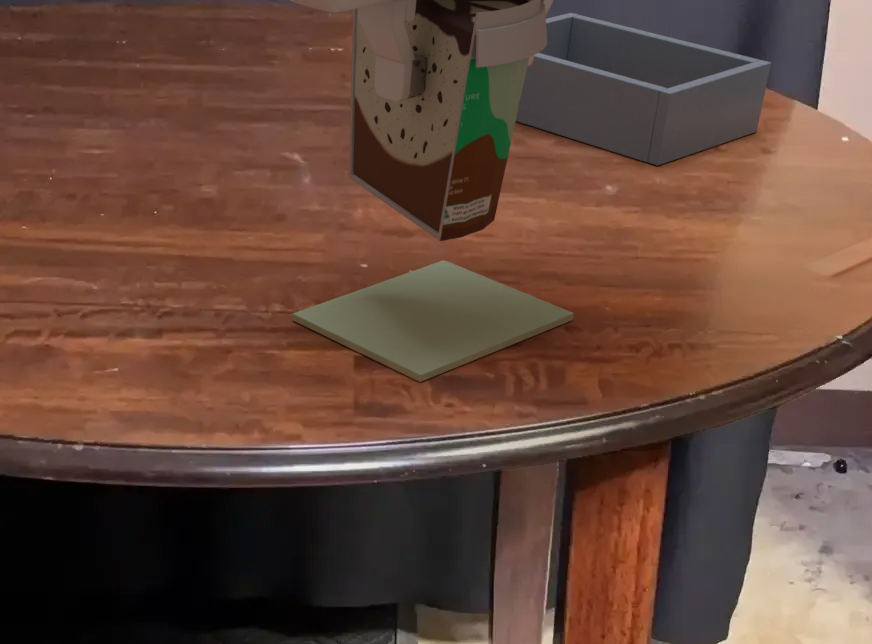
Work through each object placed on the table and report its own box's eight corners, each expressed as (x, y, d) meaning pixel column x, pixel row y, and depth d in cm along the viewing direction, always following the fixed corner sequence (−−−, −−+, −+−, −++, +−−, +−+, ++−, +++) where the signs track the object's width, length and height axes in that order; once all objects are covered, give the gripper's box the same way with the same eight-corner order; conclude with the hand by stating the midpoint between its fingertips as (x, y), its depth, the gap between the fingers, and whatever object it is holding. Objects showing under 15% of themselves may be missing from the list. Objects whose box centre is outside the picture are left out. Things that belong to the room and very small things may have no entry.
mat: (573, 320, 76) (574, 312, 76) (420, 382, 71) (420, 374, 70) (443, 266, 82) (443, 259, 82) (292, 320, 76) (292, 313, 76)
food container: (574, 236, 69) (611, 5, 63) (456, 252, 67) (483, 15, 62) (442, 156, 79) (464, -52, 73) (335, 168, 77) (349, -44, 71)
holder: (757, 132, 100) (771, 62, 98) (657, 166, 95) (670, 93, 92) (562, 76, 111) (570, 12, 108) (462, 104, 105) (469, 37, 103)
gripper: (355, -242, 54) (337, 145, 62) (703, -279, 64) (648, 57, 73) (241, -256, 58) (238, 109, 66) (586, -289, 68) (547, 30, 77)
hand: (455, 81), depth 69 cm, fingers closed on food container, 6 cm apart
